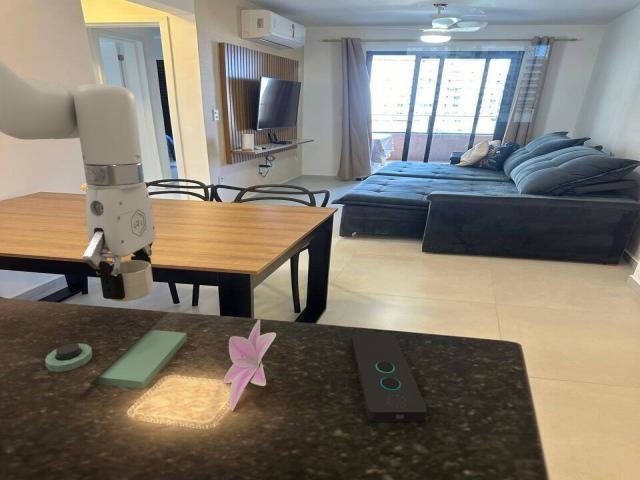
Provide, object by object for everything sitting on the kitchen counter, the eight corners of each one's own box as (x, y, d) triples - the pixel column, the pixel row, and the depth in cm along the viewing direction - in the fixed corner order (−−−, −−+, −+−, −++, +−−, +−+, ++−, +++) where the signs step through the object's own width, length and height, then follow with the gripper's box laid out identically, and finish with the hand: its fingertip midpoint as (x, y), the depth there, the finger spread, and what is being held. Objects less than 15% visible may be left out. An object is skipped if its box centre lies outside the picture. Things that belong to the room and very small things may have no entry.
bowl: (96, 301, 58) (91, 273, 57) (123, 283, 64) (120, 258, 63) (138, 304, 57) (134, 276, 56) (161, 286, 64) (158, 261, 62)
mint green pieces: (39, 380, 57) (35, 363, 56) (103, 331, 71) (100, 317, 70) (142, 391, 55) (140, 374, 54) (187, 339, 69) (186, 324, 68)
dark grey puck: (52, 360, 58) (51, 352, 57) (67, 349, 60) (66, 342, 60) (70, 362, 57) (69, 354, 57) (85, 351, 60) (83, 343, 60)
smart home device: (368, 411, 50) (350, 333, 69) (367, 422, 51) (349, 341, 70) (429, 411, 51) (395, 333, 70) (428, 421, 51) (394, 341, 70)
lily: (236, 362, 65) (206, 327, 59) (300, 341, 63) (276, 302, 58) (229, 431, 55) (193, 397, 49) (305, 408, 53) (276, 369, 48)
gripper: (99, 185, 47) (117, 315, 52) (169, 170, 64) (178, 270, 68) (43, 182, 48) (66, 311, 53) (127, 169, 64) (138, 268, 69)
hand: (129, 287), depth 61 cm, fingers closed on bowl, 6 cm apart
